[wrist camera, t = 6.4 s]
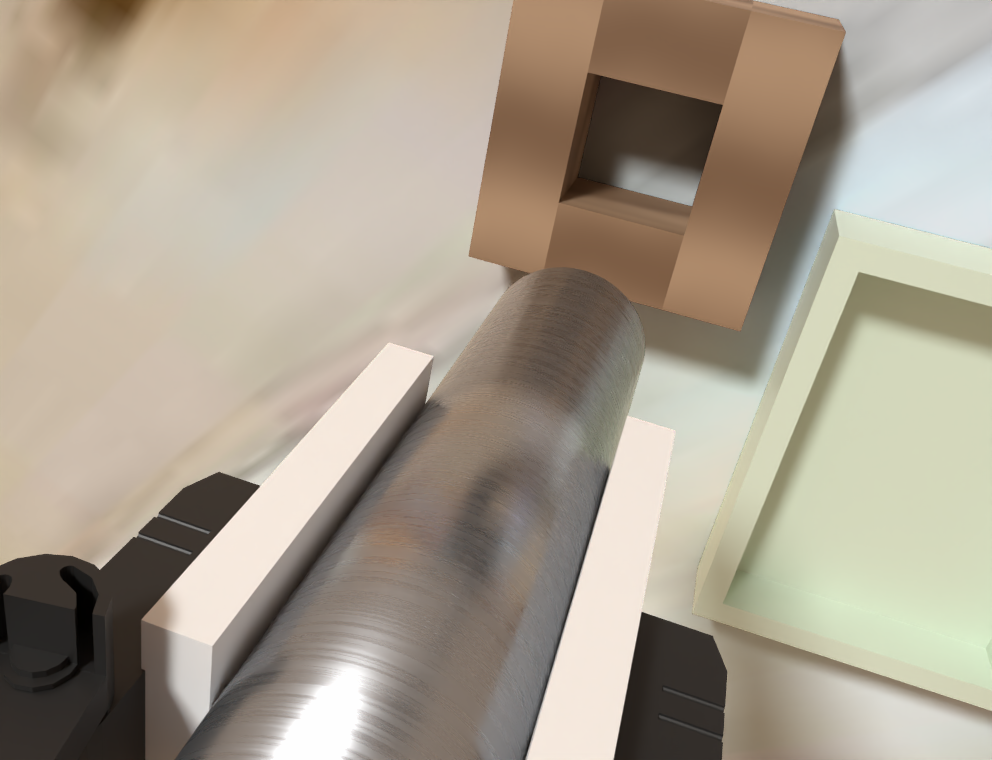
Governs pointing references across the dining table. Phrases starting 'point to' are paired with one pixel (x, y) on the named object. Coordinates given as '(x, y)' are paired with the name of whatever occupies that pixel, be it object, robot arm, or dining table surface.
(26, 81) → the dining table surface
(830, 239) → the tray
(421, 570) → the pin
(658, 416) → the dining table surface
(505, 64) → the socket block
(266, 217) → the dining table surface
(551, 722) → the robot arm
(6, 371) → the dining table surface
